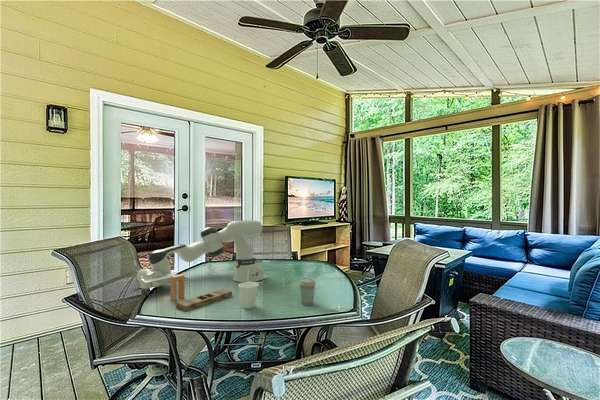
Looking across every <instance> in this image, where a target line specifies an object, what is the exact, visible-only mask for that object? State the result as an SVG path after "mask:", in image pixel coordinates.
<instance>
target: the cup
mask: <svg viewBox="0 0 600 400" xmlns="http://www.w3.org/2000/svg"><path fill="white" fill-rule="evenodd" d="M238 289H239V294H240V302H241V307H242V308H243V309H246V310H249V309H254V308H255V305H256V301H257V294H258V289H259V282H257V281H255V282H239V283H238Z"/></svg>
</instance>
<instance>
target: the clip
mask: <svg viewBox="0 0 600 400" xmlns="http://www.w3.org/2000/svg"><path fill="white" fill-rule="evenodd" d="M185 287H186V286H185V274H181V273H180V274H176V275H175V276H171V283H170V300H172V301H176V300H178V297H179V298H180V299H184V298H185Z"/></svg>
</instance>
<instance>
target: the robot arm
mask: <svg viewBox="0 0 600 400" xmlns="http://www.w3.org/2000/svg"><path fill="white" fill-rule="evenodd" d="M262 232H263V224H262V223H261V221H259V220H251V219H250V220H235V221H231V222H229V223H228V224H227V225H226V227H224V228H222V229H221V230H219V231H218V228H216V227H213V226H209V227H204V229H203V230H202V231H200V237H201V239H202V241H195V242H193V243H191V244H189V245H186V244H183V243H181V244H176V245H171V246H169V247H165V248H160V249H156V250H153V251H151V252H150V253H149V256H148V258H147V259H148V262H149V263H150V266H151V269H149V268H140V269H138V271H137V274H136V279H137V281H138V283H139V288H140V289H144V290H147V289H150V288H160V287H161V286H163V285H169V284H171V276H175V275H177V274H176V273H172V271H171V270H172V269H171V267H170V263H169V260H168V255H171V254H174V253H176V254H177V255H178V256H179V259H181V260H182V261H184V262H186V263H192V262H195V261H196V260H198V259H199V258H200V257H202V256H203V255H204V254H207V255H206V256H210V257H212V258H216V257H217V258H218V257H220V256H221V255H222V254H224V252H225V247H224V245H223V243H231V242H233V243H234V245H235V260H234V261H235V262H234V263H235V265H234V266H235V271H234V276H233V281H234V282H238V283H244V282H259V281H262V280H266V279H268V275H267V274H265V271H264V268H263V267H261V265H259V264H258V263H256V262H258V261H259V258H257V257H256V258H255V257H254V246H253V245H252V244H251V243H250V242H249V241H247V239H248V238H249V239H250V238H253V237H256V236H259V235H261V234H262Z"/></svg>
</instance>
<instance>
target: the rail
mask: <svg viewBox="0 0 600 400" xmlns="http://www.w3.org/2000/svg"><path fill="white" fill-rule="evenodd" d="M230 297H233V291H231V290H228V289H224V288H221V289H218V290H214V291H211V292H207V293H203V294H200V295H196V296H195V297H190V298H187V299H183V300H180V301H177V302H175V304H176V305H175V308H176V309H179V310H181V311H184V312H188V311H191V310H194V309H198V308H200V307H203V306H207V305H210V304H212V303H215V302H218V301H222V300H224V299H228V298H230Z"/></svg>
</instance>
